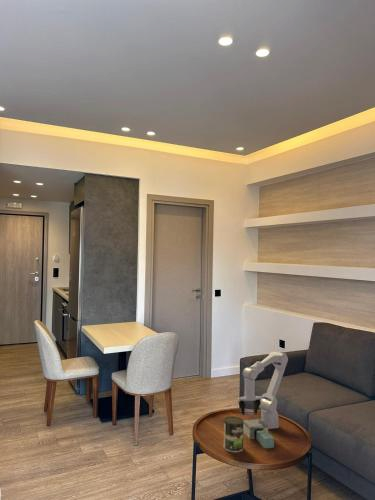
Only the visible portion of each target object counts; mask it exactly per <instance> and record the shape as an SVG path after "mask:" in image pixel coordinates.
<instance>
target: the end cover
mask: <svg viewBox="0 0 375 500" xmlns="http://www.w3.org/2000/svg"><path fill="white" fill-rule="evenodd" d="M255 437H256V438H255V439H256V441H257V442H258V443H259V445H261V446H262V448H263V449H272V448H275V438H274V436H273V435H272V434H271V433H270V432H268V433H266V432H265V431H264V430H261V431H256V434H255Z"/></svg>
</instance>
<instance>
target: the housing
mask: <svg viewBox="0 0 375 500" xmlns="http://www.w3.org/2000/svg"><path fill="white" fill-rule="evenodd" d="M243 421H244V423H243V435H245V436H246V438H248V439H249V440H255V439H256V438H255V437H256V434H255V432H256V431H261V430H264V431H265V432H266V433H269V429H268V425H267V424H265V423H264V422H263V421H262V420H261V418H254V419H245V420H244V419H243Z"/></svg>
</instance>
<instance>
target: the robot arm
mask: <svg viewBox="0 0 375 500" xmlns="http://www.w3.org/2000/svg"><path fill="white" fill-rule="evenodd" d="M288 361H289V359H288V355H287V353H283V352H279V351H276V350H272V351H271V352H269V353H268V356H266V357H265V358H263V360H261V361H256V362H255V363H253V365H250V367H245V368H244V369H243V370H242V376H243V380H244V395H242V396H240V397H236V402H237V403H238V405H239V408H240V410H241V411H240V412H241V415H242V416H244V415H245V411H246V410H245V409H246V403H245V402H253V413H254V414H255V415H257V413H258V410H259V408H260V411H261V412H260V413H261V414H260V415H261V418H260V419H261V420H262V421H263V422H264V423H265V424H267V425H268V430H271V429H279V413H278V411H277V409H278V408H277V407H278V402H279V401H278V399H277V398H276V395H277V393H278V390H279V387H280V384H281V381H282V379H283V376H284V373H285V369H286V367H287V364H288ZM271 364H272V365H273V366H274V371H273V375H272V376H271V380H270V382H269V386H268V387H267V390H266V393H263V394H262V395H261V396H260V395H256V394H255V391H256V390H255V384H256V383H255V382H256V381H255V380H256V379H257V378H258V375H259V374H260V373H262V372H263V371H264V370H265V367H267V366H268V365H271Z"/></svg>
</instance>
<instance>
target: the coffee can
mask: <svg viewBox="0 0 375 500" xmlns="http://www.w3.org/2000/svg"><path fill="white" fill-rule="evenodd" d="M243 420H244V419H243V418H241V417H239V416H234V415H233V416H232V415H231V416H227V417H225V418H224V419H223V449H224V450H225V451H226V452H229V453H241V452H242V451H243V450H244V433H243V423H244V421H243Z"/></svg>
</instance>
